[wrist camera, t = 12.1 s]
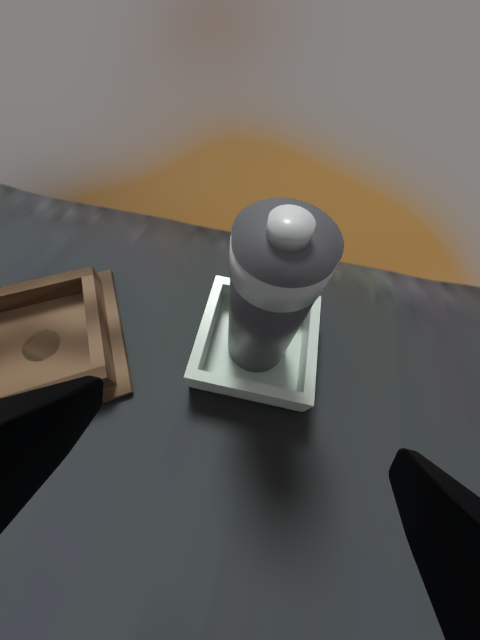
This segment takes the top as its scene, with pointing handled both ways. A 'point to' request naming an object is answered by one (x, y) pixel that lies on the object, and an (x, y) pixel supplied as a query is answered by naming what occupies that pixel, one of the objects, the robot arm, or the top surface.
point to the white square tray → (264, 387)
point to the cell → (276, 276)
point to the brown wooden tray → (62, 333)
